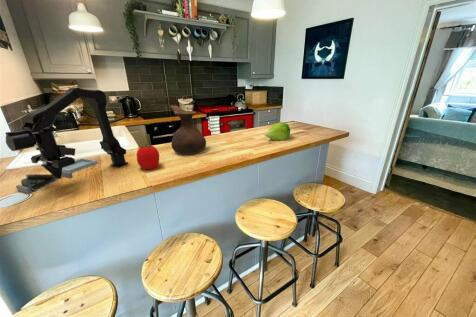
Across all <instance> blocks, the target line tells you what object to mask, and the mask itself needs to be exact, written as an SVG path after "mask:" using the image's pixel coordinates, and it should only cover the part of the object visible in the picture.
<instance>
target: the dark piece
mask: <svg viewBox="0 0 476 317" xmlns="http://www.w3.org/2000/svg"><path fill="white" fill-rule="evenodd" d="M25 177H26V178H22V179H21V181H20V183H21V184H20V185H21V186H25V187H28V188H30V190H31V191H32V190H33V191H35V192H36V191H38V190H39V191H40V190H41V189H44V188H45V187H47V186H49V185H51V184H53V183H55V182H57V181H58V180H59V179H57V178H56V177H55V176H54V175H52V174H51V173H50V174H48V173H47V174H46V173H45V174H37V173H36V174H32V173H31V174H26V175H25Z"/></svg>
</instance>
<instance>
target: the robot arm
mask: <svg viewBox="0 0 476 317" xmlns="http://www.w3.org/2000/svg"><path fill="white" fill-rule="evenodd" d="M78 99H84V100H86V102H87V104H88V105H89V106H90V107H91V108H92V109H93V111H94V114H95V117H96V120H97V121H96V122H97V124H98V127H99V129H100V130H99V131H100V133H101V136H102V141H99V144H100V149H101V150H103V152H105V153H106V154H107V155H110V159H111V164H110V165H109V166H111V167H116V168H120V167H123V166H125V165H128V164H129V161H126V158H125V155H126V154H127V149H125V148H124V147H122V146H121V144H120V142H119V140H118V139H117V137H116V136H114V133H113V129H112V127H111V123H110V119H109V116H108V113H107V108H106V107H107V104H108V103H107V102H108V101H107V100H108V99H107V95H106V93H105V92H104V91H102V90H99V89H86V88H85V89H84V88H80V87H69V88H68V90H66V91H65V92H63V93H62V94H61V95H58V97H57V98H55V99H54V100H52V101H51V102H49V103H48V104H46V105H45V106H43V107H39V108H36V109H34V110H32V111H30V112H28V113H26V115H25V116H24V120H25V122H24V123H23V125H22V126H21V129H20V130H16V131H7V132H5V135H6V136H5V144H6V146H7V148H8V149H9V150H10V151H12V152H17V151H22V150H25V149H29V148H34V147H35V146H37V147H35V149H36V151H39V154H35V155H32V156H31V158H30V161H31V163H32V164H38V162H42V163H41V165H40V166H41V167H42V168H44V169H45V170H46V171H47V172H49V173H50V175H51V174H52V175H54V176H55V177H56V178H57V179H58V180H60V179H62V177H63V176H62V168H63V167H66V166H69V165H72V164H75V163H76V162H75V160H76V159H75V158H73V156H74V157H75V156H76V148H73V147H67V145H63V144H57V140H56V138H55V134H54V132H59V128H56V127H55V126H54V125H52V124H53V123H54V122H55V121H56V118H57V116H58V115H59V114H60V113H61V112H62V111H64V110H65V109H66V108H68V107H70V106H71V105H72V104H73V103H75V101H77V100H78ZM71 156H72V157H71Z"/></svg>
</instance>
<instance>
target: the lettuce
mask: <svg viewBox="0 0 476 317" xmlns="http://www.w3.org/2000/svg"><path fill="white" fill-rule="evenodd" d="M264 136H265V137H266V138H268V139H270V140H272V141H279V142H282V141H286V140H287V139H289V137H290V136H291V127H290V125H289V124H288V123H287V122H283V121H282V122H281V121H280V122H276V123H274V124H273V125H271V126H270V127H269V128H268V130H267V131H266V132H265V133H264Z"/></svg>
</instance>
